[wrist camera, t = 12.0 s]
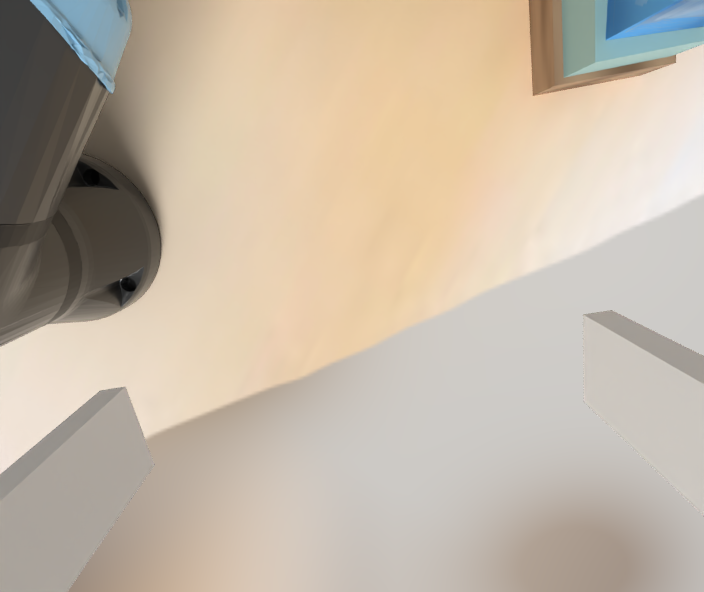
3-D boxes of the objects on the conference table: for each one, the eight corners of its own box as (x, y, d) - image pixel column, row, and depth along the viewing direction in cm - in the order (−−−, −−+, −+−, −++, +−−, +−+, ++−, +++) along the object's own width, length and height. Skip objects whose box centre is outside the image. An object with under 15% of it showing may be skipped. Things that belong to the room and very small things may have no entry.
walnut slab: (531, 96, 34) (554, 85, 30) (526, -27, 31) (550, -56, 27) (638, 76, 33) (675, 62, 29) (641, -51, 31) (683, -84, 27)
